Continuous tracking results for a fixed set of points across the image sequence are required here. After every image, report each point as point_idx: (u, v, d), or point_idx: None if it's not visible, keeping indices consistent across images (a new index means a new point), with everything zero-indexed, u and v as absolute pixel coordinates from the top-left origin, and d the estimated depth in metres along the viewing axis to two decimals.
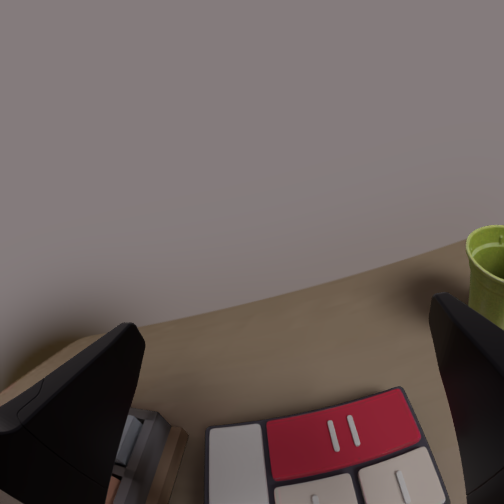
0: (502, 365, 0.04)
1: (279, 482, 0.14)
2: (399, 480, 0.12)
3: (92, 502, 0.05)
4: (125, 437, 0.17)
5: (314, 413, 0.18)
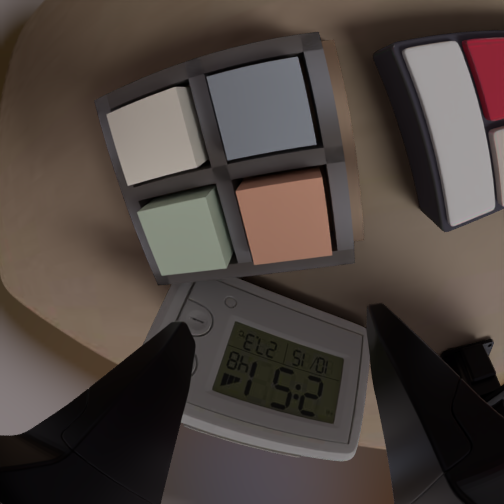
0: (415, 389, 0.04)
1: (489, 122, 0.11)
2: None
3: None
4: (307, 100, 0.11)
5: None
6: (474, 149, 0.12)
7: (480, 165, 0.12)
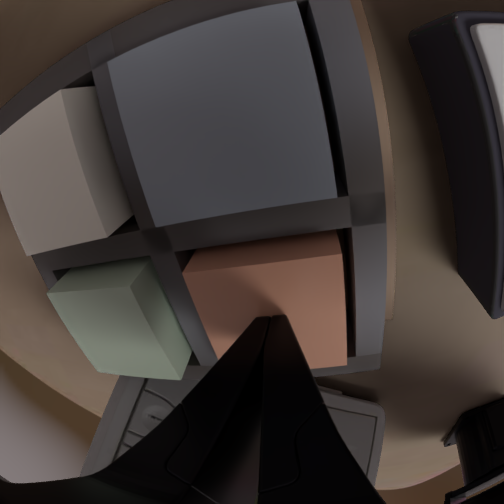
0: (268, 406, 0.05)
1: None
2: None
3: None
4: (319, 98, 0.05)
5: None
6: None
7: None
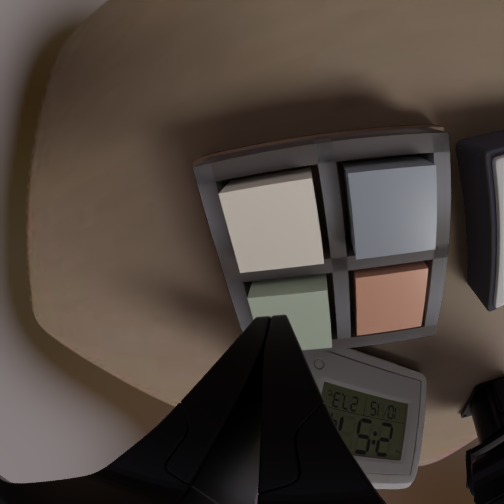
0: (268, 406, 0.05)
1: None
2: None
3: None
4: (435, 209, 0.11)
5: None
6: None
7: None
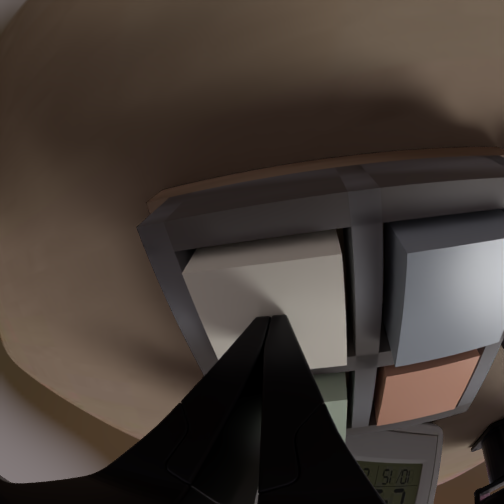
0: (268, 406, 0.05)
1: None
2: None
3: None
4: None
5: None
6: None
7: None
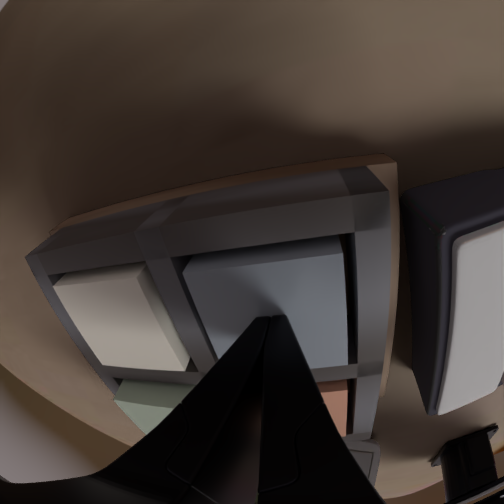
0: (268, 406, 0.05)
1: None
2: None
3: None
4: (345, 316, 0.08)
5: None
6: (496, 352, 0.09)
7: (496, 362, 0.09)
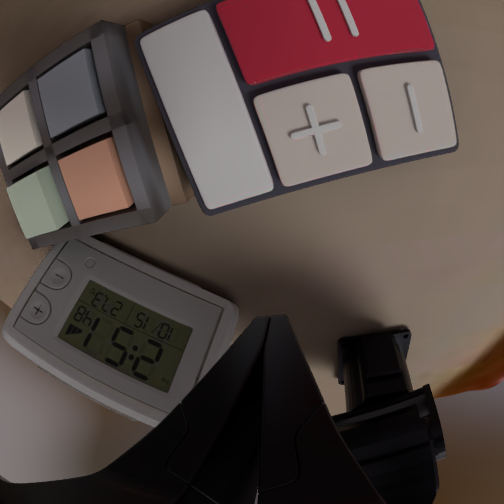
0: (268, 406, 0.05)
1: (256, 87, 0.13)
2: (409, 97, 0.11)
3: None
4: (91, 80, 0.12)
5: None
6: (225, 121, 0.13)
7: (239, 138, 0.14)
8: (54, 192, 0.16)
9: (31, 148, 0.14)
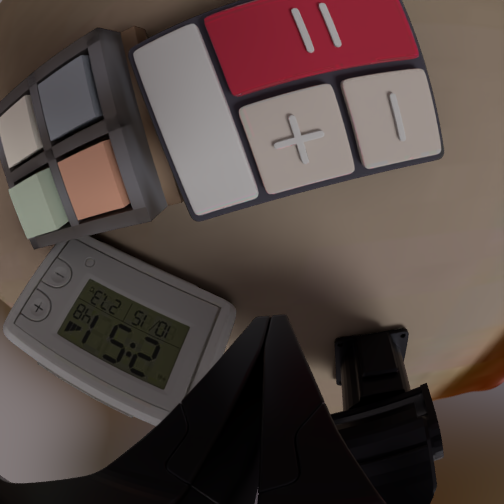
0: (268, 406, 0.05)
1: (242, 98, 0.13)
2: (392, 105, 0.12)
3: None
4: (88, 85, 0.12)
5: None
6: (211, 131, 0.14)
7: (225, 147, 0.14)
8: (54, 193, 0.16)
9: (32, 151, 0.15)
